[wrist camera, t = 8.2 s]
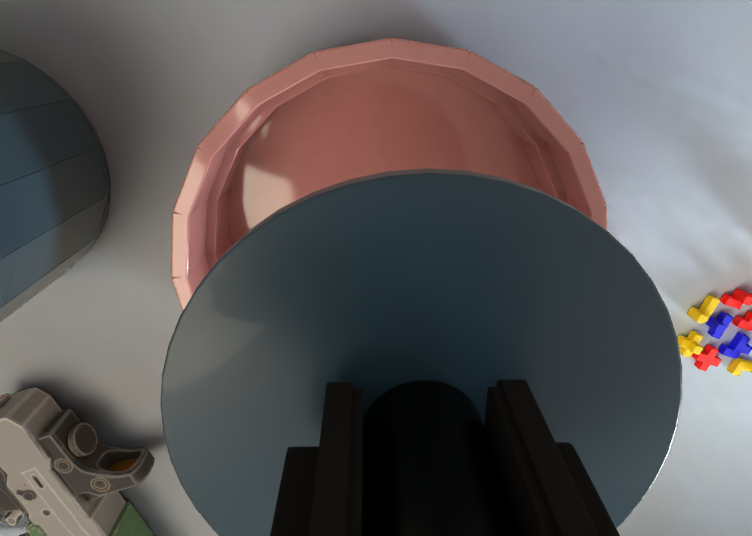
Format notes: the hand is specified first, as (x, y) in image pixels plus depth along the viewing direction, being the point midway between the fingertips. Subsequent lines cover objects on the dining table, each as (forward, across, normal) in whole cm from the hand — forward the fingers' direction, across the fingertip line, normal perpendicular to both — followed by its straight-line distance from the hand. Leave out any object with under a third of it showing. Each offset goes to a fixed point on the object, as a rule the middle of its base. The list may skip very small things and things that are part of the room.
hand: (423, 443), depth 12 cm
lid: (+1, 0, 0) cm, 1 cm away
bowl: (+15, 0, 0) cm, 15 cm away
